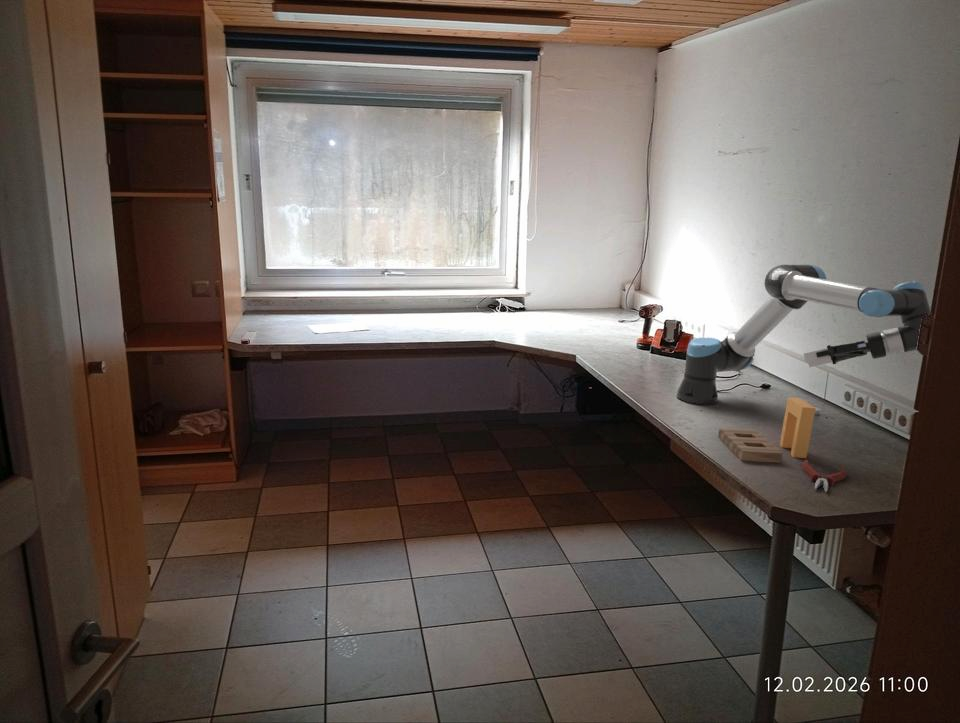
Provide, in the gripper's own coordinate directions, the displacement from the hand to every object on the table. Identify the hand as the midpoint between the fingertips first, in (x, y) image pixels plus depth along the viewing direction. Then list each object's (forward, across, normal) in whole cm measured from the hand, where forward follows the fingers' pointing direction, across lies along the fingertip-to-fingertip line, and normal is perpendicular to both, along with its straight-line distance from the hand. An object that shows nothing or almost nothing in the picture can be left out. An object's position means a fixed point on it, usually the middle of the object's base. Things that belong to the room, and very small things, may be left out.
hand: (806, 360), depth 212 cm
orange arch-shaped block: (+10, +3, -26) cm, 29 cm away
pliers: (+5, -14, -36) cm, 38 cm away
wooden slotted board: (+22, -4, -24) cm, 33 cm away
